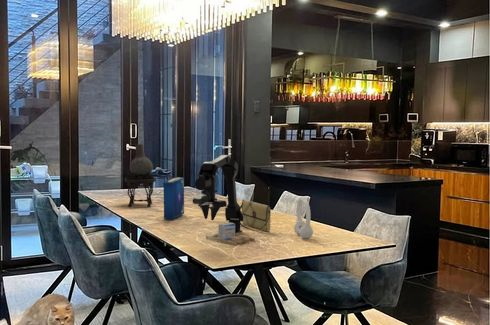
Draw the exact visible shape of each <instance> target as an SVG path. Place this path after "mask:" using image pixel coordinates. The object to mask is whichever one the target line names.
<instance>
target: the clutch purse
mask: <svg viewBox="0 0 490 325" xmlns="http://www.w3.org/2000/svg"><path fill="white" fill-rule="evenodd" d="M239 206H240V209H241V212H242V214H243V221H241V222H242V223H241V222H240V227H243V228H245V229H247V230H250V231H253V232H257V230H255V229H258V230H259V231H264V232H266V233H269V232H270V231H271V208H272V207H271V206H270V205H266V204H263V203H259V202H255V201H252V200H246V199H243V200H241V205H239ZM245 225H247V226H249V227H252V228H255V229H251V228H249V227H247V226H245Z"/></svg>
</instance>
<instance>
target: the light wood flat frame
mask: <svg viewBox="0 0 490 325" xmlns="http://www.w3.org/2000/svg"><path fill="white" fill-rule="evenodd" d="M239 235H240V234H236V233H235V236H239ZM205 238H206V240H210V241H214V242H219V243H223V244H226V245H232V246H235V247H236V246H238V244H237V243H236V242H232V240H224V239H219V232H218V233H215V234H209V235H206V237H205ZM249 242H256V238H255V237H250V236H249Z"/></svg>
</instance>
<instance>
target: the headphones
mask: <svg viewBox="0 0 490 325" xmlns="http://www.w3.org/2000/svg"><path fill="white" fill-rule="evenodd" d="M303 204H304V209H305V221H303V218H302V205H303ZM296 214H297V215H296V218H297V219H296V221H295V224H294V225H293V229H294V232H295V234H297V235H299V236H300V237H301V238H302V239H304V240H305V239H306V240H307V239H310V238H312V236H313V234H314V231H313V227H312V226H311V206H310V204H309V202H308V200H307V199H305V198H304V199H299V201H298V203H297V208H296Z"/></svg>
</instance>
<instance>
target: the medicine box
mask: <svg viewBox="0 0 490 325" xmlns="http://www.w3.org/2000/svg"><path fill="white" fill-rule="evenodd" d="M218 233H219V237H218V238H219V239H224V240H228V241H232V237H233V236H235V234H236V233H235V223H229V222H225V223H220V224H218Z"/></svg>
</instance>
